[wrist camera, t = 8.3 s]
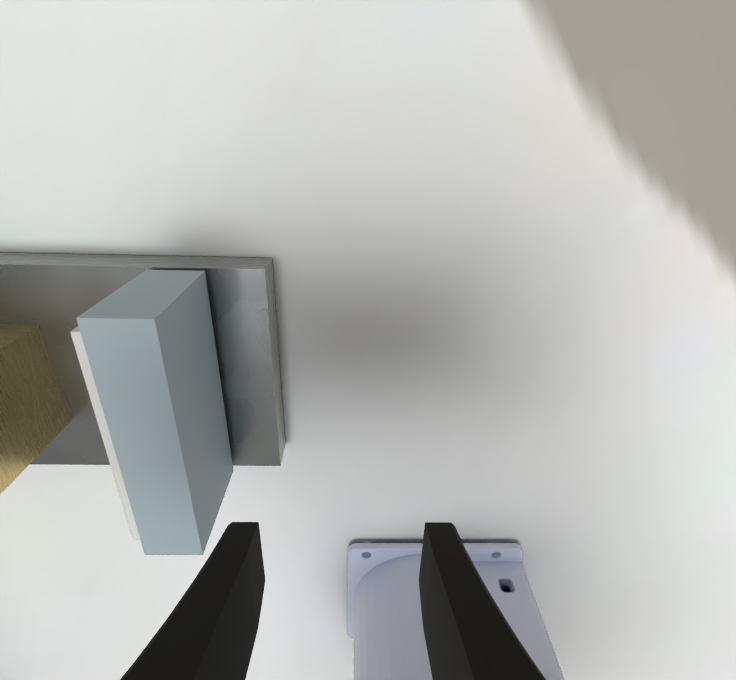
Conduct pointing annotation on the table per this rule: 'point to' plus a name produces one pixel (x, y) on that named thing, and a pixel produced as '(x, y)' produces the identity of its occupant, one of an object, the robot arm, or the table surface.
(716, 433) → the table surface
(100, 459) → the vise
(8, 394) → the brass block
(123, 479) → the sliding jaw
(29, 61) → the table surface
